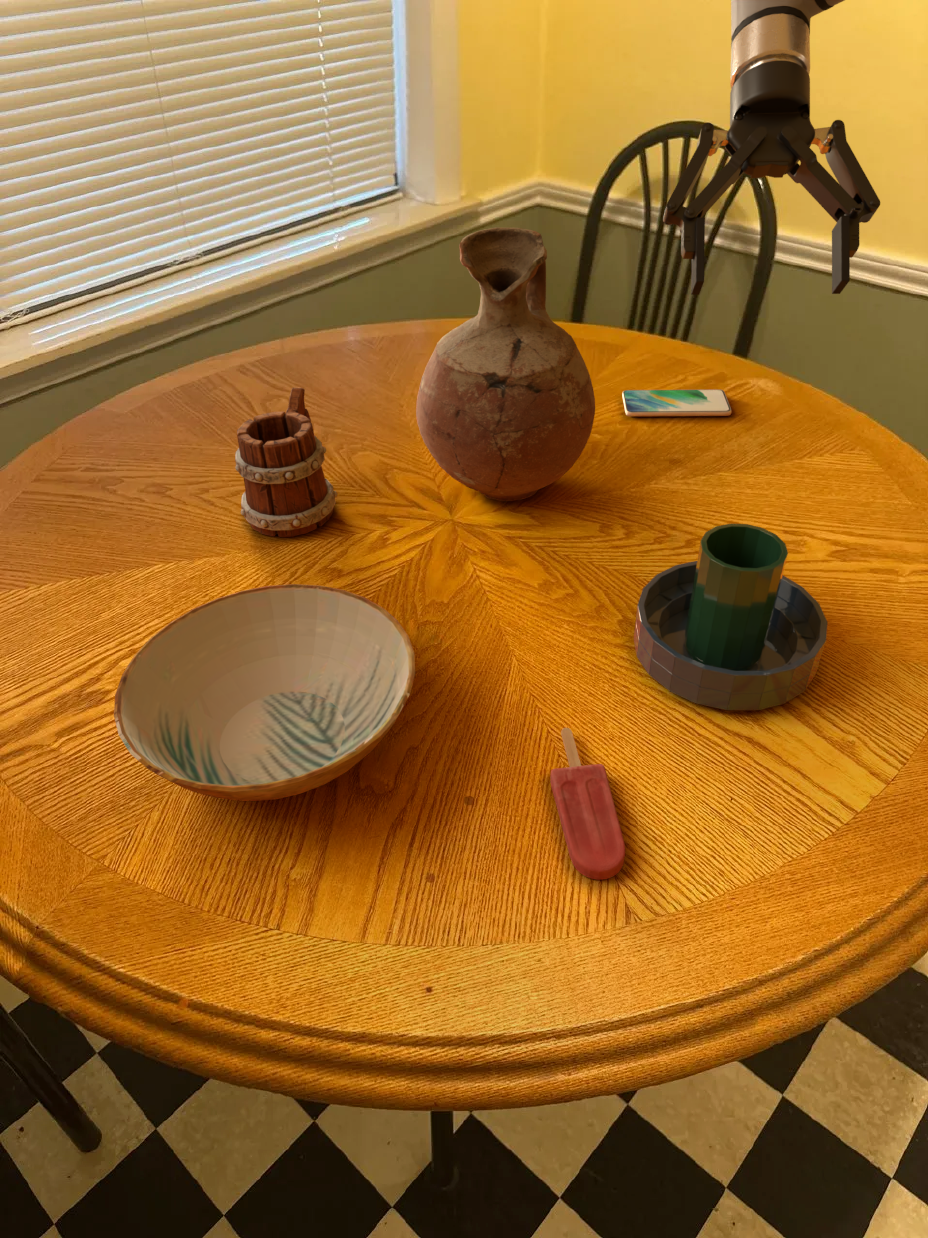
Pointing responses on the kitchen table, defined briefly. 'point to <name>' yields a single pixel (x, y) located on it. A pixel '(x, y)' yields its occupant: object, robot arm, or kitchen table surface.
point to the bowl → (265, 691)
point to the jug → (506, 378)
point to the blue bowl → (762, 686)
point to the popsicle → (588, 815)
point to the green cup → (734, 595)
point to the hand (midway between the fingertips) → (768, 288)
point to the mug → (283, 472)
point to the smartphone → (676, 403)
